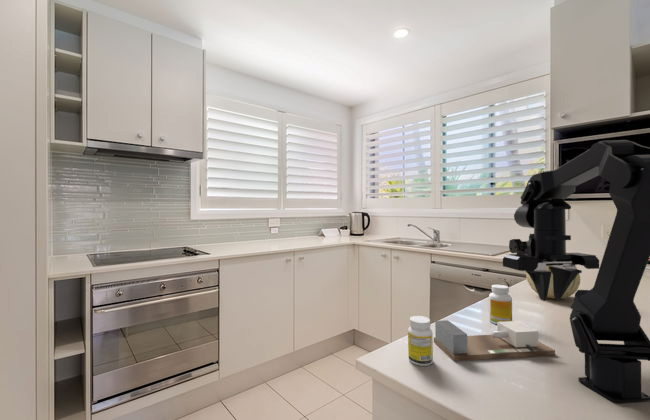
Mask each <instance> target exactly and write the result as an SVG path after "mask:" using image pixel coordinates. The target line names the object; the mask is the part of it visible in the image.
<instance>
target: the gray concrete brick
mask: <svg viewBox="0 0 650 420" xmlns="http://www.w3.org/2000/svg"><path fill="white" fill-rule="evenodd" d="M434 323H435V326H434V327H435V328H434V330H435V337H434V338H436V339H437V340H438V341H439V342H440V343H441V344H442V345H443V346H444V347H445V348H446V349H448V350H449V351H450V352H451V353H452V354H453V355H460V354H467V336H468V333H466V332H465V331H463V330H462V329H460V328H459V327H458V326H456V325H455V324H454V323H452V322H451V321H450V320H448V319H447V320H435V321H434Z"/></svg>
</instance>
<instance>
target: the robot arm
mask: <svg viewBox="0 0 650 420" xmlns="http://www.w3.org/2000/svg"><path fill="white" fill-rule="evenodd" d="M596 177H601V178H602V179H604V180H605V181H607V182H609V183H610V184H609V190H608V194H609V196H610V198H611V200H612V202H613V204H614V206H615V208H616V214H615V216H614V219H613V220H614V221H613V224H612V228H611V230H610V233H609V237H608V240H607V243H606V247H605V250H604V253H603V256H602V259H601V263H600V259H599V258H598V256H596V255H595V254H587V253H583V252H582V253H581V252H566V251H567V241H571V240H572V235H570V234H567V233H566V224H567V223H566V220H567V219H566V210H571V209H572V206H571V205H570V204H569V203H568V202H566V201H565V200H566V199H568V198H569V197H570V196H572V195H573V194H575V192H576V187H578V186H579V185H582V184H583V183H586V182H588V181H589V180H593V179H594V178H596ZM520 199H521V200H520V204H521V206H519V207H518V208H516V210H515V211H514V214H513V218H514V221H515V223H516V224H517V225H518V226H519V227H522V228H528V229H529V228H530V229H533V233H529V235H528V240H525V241H524V240H523V241H522V240H521V239H520V238H513V239H512V238H511V239H510V240H509V241H508V249H509V252H510V254H509V253H507V254H505V255H504V256H503V258H502V267H504V268H509V269H511V270H512V269H513V270H516V271H522V272H525V273H526V272H527V273H528V274H529V275H530V277H531V279H532V281H533V283H534V285H535V287H536V290H537V292H538V293H537V294H538V297H539V299H540V301H544V302H545V301H547V299H548V298H547V295H548V289H549V284H550V278H551V272H552V274H553V291H554V298H555V299H554V300H556V301H560V300H561V298H562V296H563V295H564V293H565V291H566V290H567V288H568V287H569V285H570V284H571V282H572V281H573V280H574V279H575V277H576V276H577V275H578V274H582V272H583V271H582V270H580V269H578V268H577V265H578V266H582V267H584V268H585V269H587V270H593V269H594V270H596V269H598V272H597V276H596V278H595V281H594V285H593V286H592V287H591V289H577V291H576V292H575V293H574V299H573V302H572V305H570V309H572V310H571V313H570V314H569V315H570V316H569V323H570V328H571V331H572V336H573V342H574V344H575V347H576V348H578V351H579V352H580V353H582V354H584V375H585V376H583V377H582V376H581V377H578V379H577V380H578V382H580V383H581V384H583V385H584V386H586V387H588V388H589V389H592V390H593V391H594V392H596V393H598V394H599V395H601V396H603V397H604V398H606V399H608V400H610V402H613V403H619V404H621V403H633V402H644V401H650V395H648V393H647V394H646V393H645V392H643V391H642V361H649V362H650V338H649V337H648V336H647V333H646V332H645V331H644V330H643V328H642V326H641V320H642V316H641V313H640V311H639V309H638V308H637V306H636V304H635V298H636V295H637V294H636V293H638V288H639V286H640V284H641V281H642V278H643V275H644V273H645V269H646V267H647V264H648V263H649V259H650V147H649V146H645V145H641V144H639V143H637V142H635V141H631V140H630V139H629V140H628V139H619V140H617V139H616V140H615V139H614V140H601V141H598V142H595V143H593V144H592V145H591V147H590V148H589V149H587V150H586V151H584V152H583V153H581V154H579V155H577V156H576V157H574V158H573V159H571V160H569V161H567V162H566V163H564V164H562V165H560V166H559V167H557V168H556V169H552V170H546V171H541V172H537V173H534V174H533V175H532V176H531V177H530V178H529V180H528V181H527V183H526V186H525V188H524V190H523V192H522V194H521V196H520ZM549 265H553V266H549ZM546 266H548V267H549V269H550V270H551V272H550V271H546ZM576 268H577V269H578V270H577V269H576ZM562 299H563V298H562ZM598 341H604V342H605V341H606V342H607V341H608V342H609V341H610V342H623V343H602V342H601V343H600V342H598ZM641 360H642V361H641Z"/></svg>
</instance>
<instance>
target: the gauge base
mask: <svg viewBox="0 0 650 420" xmlns="http://www.w3.org/2000/svg"><path fill="white" fill-rule="evenodd" d="M433 344H435V345H436V346H437V347H438V348H439V349H440V350H441V351H443V352H444V354H446V355H447V356H448V357H449V358H450V359H451V360H452V361H453V362H461V361H476V360H477V361H478V360H490V359H489V358H497V359H511V357H514V358H526V357H527V358H528V357H530V358H531V357H543V356H544V357H545V356H555V355H556V350H555V349H553V348H551V347H549V345H546V344H544V343H542V342H541V341H539V340H538V346H534V347H533V348H535V349H536V350H534V351H533V350H531V349H530V348H528V347H514V346H513V345H511V344H510V343H508V342H506V341H505V340H503V339H502V338H493V337H492V335H491V334H479V335H467V354H460V355H453V354H452V353H451V352H450V351H449V350H448V349H446V348H445V347H444V346H443V345H442V344H441V343H440V342H439V341H438V340H437V339H436V338H435V337H433Z"/></svg>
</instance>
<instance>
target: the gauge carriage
mask: <svg viewBox="0 0 650 420" xmlns="http://www.w3.org/2000/svg"><path fill="white" fill-rule="evenodd" d="M496 326H497V327H496V328H497V330H494V331H493V330H492V331H491V332H490V335H492V337H493V338H502V339H503V340H505V341H506V342H508V343H510V344H511V345H513V346H514V347H528V348H530V349H531V350H533V351H534V350H536V349H535V348H533V347H534V346H538V341H539V331H538V330H537V329H534V328H533V327H531V326H528V325H526V324H524V323H523V322H520V321H518V320H514V321H513V320H512V321H506V322H497V325H496Z"/></svg>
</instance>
